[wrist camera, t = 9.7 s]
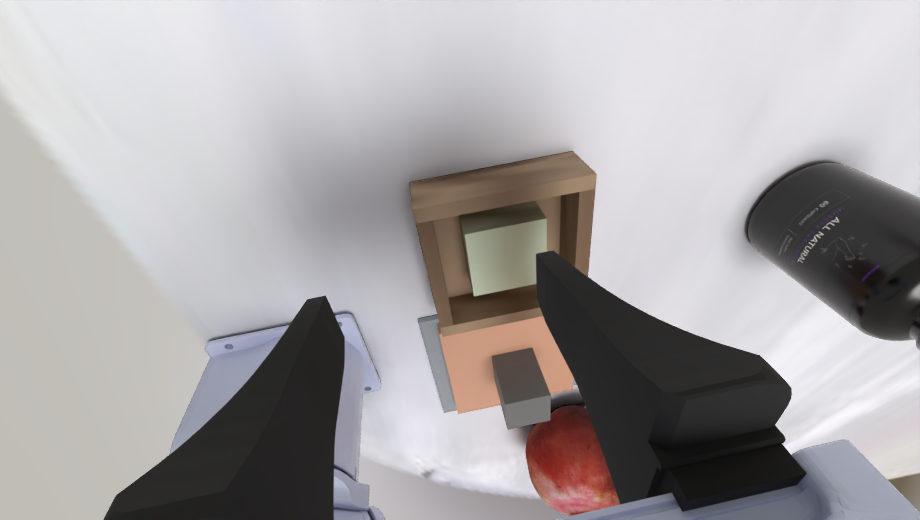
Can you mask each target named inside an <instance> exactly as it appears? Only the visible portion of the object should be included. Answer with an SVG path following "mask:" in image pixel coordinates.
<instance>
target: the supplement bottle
mask: <svg viewBox="0 0 920 520" xmlns="http://www.w3.org/2000/svg"><path fill="white" fill-rule="evenodd" d="M748 236H749V240H750V242H751V244H752V245H753V246H754V248H755V249H756V250H758V251H759V252H760V253H761V254H763V255H764V256H765V257H766V258H767V259H769V260H770V261H771V262H773V263H774V264H775V265H776V266H778V267H779V268H780V269H781V270H783V271H784V272H785V273H787V274H788V275H789V276H790V277H792V278H793V279H794V280H796V281H797V282H798V283H799V284H801V285H802V286H803V287H805V288H806V289H807V290H808V291H810V292H811V293H812V294H813V295H815V296H816V297H817V298H819V299H820V300H821V301H822V302H824V303H825V304H826V305H828V306H829V307H830V308H831V309H833V310H834V311H835V312H837V313H838V314H839V315H840V316H842V317H843V318H844V319H845V320H847V321H848V322H849V323H851V324H852V325H853V326H855V327H856V328H858V329H859V330H860V331H862V332H863V333H865V334H867V335H869V336H872V337H875V338H879V339H884V340H891V341H906V340H916V347H917V348H918V349H919V350H920V198H919V197H917V196H915V195H912V194H910V193H908V192H906V191H903V190H901V189H899V188H897V187H894V186H892V185H890V184H888V183H885V182H883V181H881V180H879V179H876V178H874V177H872V176H870V175H867V174H865V173H863V172H860V171H858V170H856V169H853V168H851V167H849V166H846V165H843V164H838V163H821V164H816V165H812V166H809V167H806V168H803V169H801V170H799V171H797V172H794V173H793V174H791V175H789V176H787V177H786V178H784V179H783V180H782V181H780V182H779V183H778V184H776V185H775V186H774V187H773V188H772V189H771V190H770V191H768V192H767V193H766V195H765V196H764V197H763V198H762V199H761V200H760V202H759V203H758V205H757V206H756V208H755V209H754V211H753V213H752V215H751V218H750V221H749V225H748Z"/></svg>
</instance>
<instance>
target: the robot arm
mask: <svg viewBox="0 0 920 520" xmlns="http://www.w3.org/2000/svg"><path fill="white" fill-rule="evenodd" d="M536 289H537V300H538V303H539V306H540V309H541V312H542V314H543V317H544V320H545V322H546V324H547V326H548V328H549V330H550V332H551V334H552V336H553V338H554V340H555V342H556V344H557V346H558V348H559V350H560V352H561V354H562V356H563V358H564V360H565V362H566V364H567V365H568V367H569V369H570V371H571V373H572V375H573V377H574V379H575V382H576V384H577V386H578V388H579V391H580V393H581V396H582V398H583V401H584V404H585V406H586V409H587V411H588V414H589V417H590V419H591V422H592V425H593V427H594V430H595V433H596V435H597V438H598V441H599V444H600V446H601V449H602V452H603V455H604V458H605V461H606V463H607V466H608V469H609V472H610V475H611V478H612V481H613V484H614V487H615V490H616V493H617V496H618V499H619V502H620V505H616V506H612V507H607V508H603V509H599V510H594V511H590V512H585V513H581V514H577V515H572V516H568V517H564V518H559V519H555V520H920V512H918V510H917V509H915V507H914V506H913V505H912V504H911V503H910V502H909V501H908V500H907V499H906V498H905V497H904V496H903V495H902V494H901V493H900V492H899V491H898V490H897V489H896V488H895V487H894V486H893V485H892V484H891V483H890V482H889V481H888V480H887V479H886V478H885V477H884V476H883V475H882V474H881V473H880V472H879V471H878V470H877V469H876V468H875V467H874V466H873V465H872V464H871V463H870V462H869V461H868V460H867V459H866V458H865V457H864V456H863V455H862V454H861V453H860V452H859V451H858V450H857V449H856V448H855V447H854V446H853V445H852V444H851V443H850V442H849V441H848V440H838V441H834V442H830V443H825V444H821V445H816V446H812V447H808V448H804V449H801V450H799V451H797V452H795V453H794V454H792V455H791V454H790V453H789V452H788V451H787V449H786V448H785V447H784V446H783V445H782V443H784V442H785V437H784V435H783V434H782V433H781V432H780V431H779V429H778V428H777V427H776V426H775V424H776V423H777V421H778V420H779V418H780V417H781V415H782V413H783V412H784V410H785V409H786V407H787V406H788V404H789V402H790V399H791V395H792V394H791V387H790V386H789V385H788V383H787V382H786V381H785V380H784V379H783V378H782V377H781V376H780V375H779V374H778V373H777V372H776V371H775V370H774V369H773V368H772V367H771V366H770V365H769V364H768V363H767V362H766V361H765V360H764V359H763V358H762V357H761V356H760V355H756V354H753V353H750V352H746V351H743V350H740V349H736V348H733V347H729V346H726V345H723V344H720V343H717V342H714V341H711V340H708V339H705V338H703V337H700V336H697V335H694V334H692V333H689V332H687V331H684V330H682V329H679V328H677V327H675V326H672V325H670V324H668V323H666V322H663V321H661V320H659V319H657V318H655V317H653V316H651V315H649V314H647V313H645V312H643V311H641V310H639V309H637V308H635V307H634V306H632V305H630V304H628V303H626V302H625V301H623V300H621V299H620V298H618V297H617V296H615V295H613V294H612V293H610V292H609V291H607V290H606V289H604V288H603V287H601V286H600V285H598V284H597V283H596V282H594V281H593V280H591V279H590V278H589V277H587V276H586V275H585V274H583V273H582V272H581V271H579V270H578V269H577V268H575V267H574V266H573V265H572V264H570V263H569V262H568V261H566V260H565V259H564V258H563V257H561V256H560V255H559V254H558V253H556V252H555V251H554V250H552V251H547V252H542V253H537V254H536ZM338 322H341V323H338ZM229 344H231V345H229ZM205 351H206V352H207V353H208V355H209V356H210V357H211V358H210V360H209V362H208V364H207V366H206V368H205V371H204V373H203V375H202V377H201V379H200V382H199V384H198V386H197V388H196V390H195V393H194V395H193V397H192V399H191V401H190V404H189V406H188V408H187V410H186V412H185V415H184V417H183V419H182V421H181V424H180V426H179V428H178V430H177V432H176V434H175V437H174V440H173V442H172V446H171V450H170V455H169V456H167V457H166V458H165V459H164V460H162V461H161V462H160V463H159V464H157V465H156V466H155V467H153V468H152V469H151V470H149V471H148V472H147V473H146V474H144V475H143V476H141V477H140V478H139V479H138V480H136V481H135V482H134V483H132V484H131V485H130V486H128V487H127V488H126V489H124V490H123V491H121V492H120V493H119V494H117V495H116V497H115V499H114V500H113V502H112V504H111V506H110V508H109V510H108V512H107V514H106V516H105V518H104V520H385V518H384V516H383V514H382V512H381V511H380V510H379V509H378V508H376V507H374V506H369V485H366V484H361V483H358V473H359V456H360V437H361V419H362V401H363V394H364V393H368V392H373V391H377V390H379V389H380V388H381V381H380V379H379V376H378V374H377V372H376V369H375V367H374V365H373V362H372V360H371V357H370V355H369V353H368V350H367V348H366V346H365V343H364V341H363V338H362V336H361V334H360V331H359V329H358V326H357V324H356V322H355V319H354V317H353V316H352V315H350V314H341V315H336V316H335V315H334V313H333V311H332V309H331V306H330V304H329V302H328V300H327V298H326V296H322V297H317V298H312V299H307V301H306V302H305V304H304V305H303V306H302V308H301V309H300V311H299V312H298V314H297V315H296V317H295V318H294V320H293V321H292V322H291V324H290V325H286V326H281V327H276V328H272V329H267V330H262V331H257V332H252V333H247V334H242V335H237V336H232V337H227V338H222V339H217V340H212V341H209V342H208V343H207V344H206V346H205Z"/></svg>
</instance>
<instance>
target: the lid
mask: <svg viewBox="0 0 920 520" xmlns="http://www.w3.org/2000/svg"><path fill="white" fill-rule="evenodd" d="M437 324H438V331H439V336H440V340H441V345H442V349H443V353H444V357H445V361H446V365H447V370H448V374H449V378H450V382H451V386H452V390H453V395H454V399H455V403H456V407H457V411H458V414H460V413H465V412H470V411H474V410H479V409H484V408H488V407H493V406H497V405H501V406H502V410H503V414H504V418H505V421H506V425H507V429H513V428H517V427H522V426H527V425H531V424H536V423H540V422H545V421H550V411H551V394H553V393H558V392H563V391H567V390H572V389H573V379H574V377H573V375H572V373H571V371H570V369H569V367H568V365H567V364H566V362H565V360H564V358H563V356H562V354H561V352H560V350H559V348H558V346H557V344H556V342H555V340H554V338H553V336H552V334H551V332H550V330H549V328H548V326H547V324H546V322H545V320H544V317H543V316H542V317H537V318H532V319H527V320H522V321H517V322H513V323H508V324H503V325H498V326H493V327H488V328H484V329H479V330H474V331H469V332H464V333H459V334H455V335H450V336H445V337H443V336H442V332H441V328H440V324H439V323H437Z"/></svg>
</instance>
